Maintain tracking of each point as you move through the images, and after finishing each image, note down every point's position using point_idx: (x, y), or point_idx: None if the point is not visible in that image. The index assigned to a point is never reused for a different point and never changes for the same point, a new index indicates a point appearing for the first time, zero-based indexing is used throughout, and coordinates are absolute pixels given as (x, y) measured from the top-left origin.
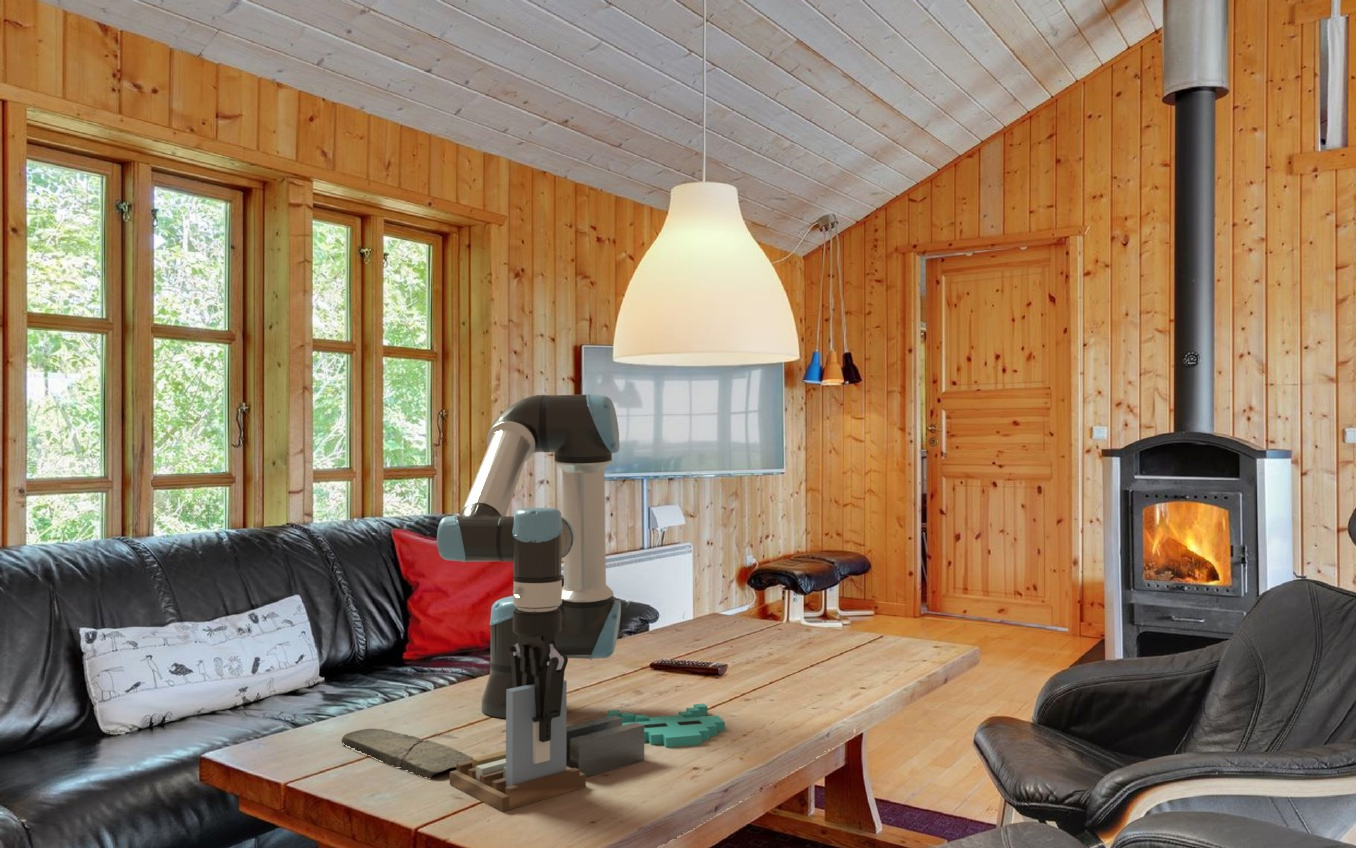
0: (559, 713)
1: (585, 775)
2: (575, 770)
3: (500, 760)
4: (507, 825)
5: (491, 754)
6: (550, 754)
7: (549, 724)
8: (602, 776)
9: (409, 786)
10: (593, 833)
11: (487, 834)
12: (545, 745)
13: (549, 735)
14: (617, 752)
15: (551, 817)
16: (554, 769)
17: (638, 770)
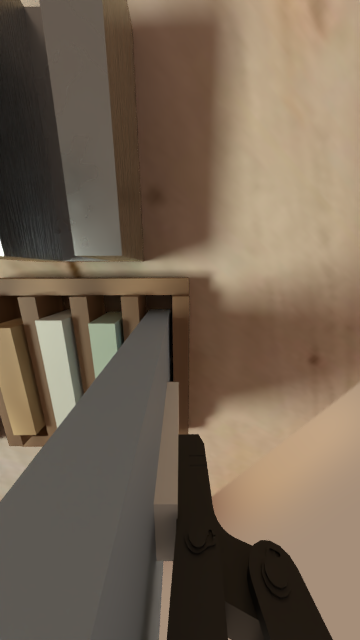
0: (301, 583)
1: (188, 278)
2: (187, 306)
3: (55, 404)
4: (231, 444)
5: (7, 399)
6: (166, 378)
7: (211, 503)
8: (159, 209)
9: (13, 466)
10: (344, 383)
11: (236, 471)
12: (178, 423)
13: (204, 456)
14: (127, 111)
15: (253, 392)
16: (168, 349)
17: (181, 107)
